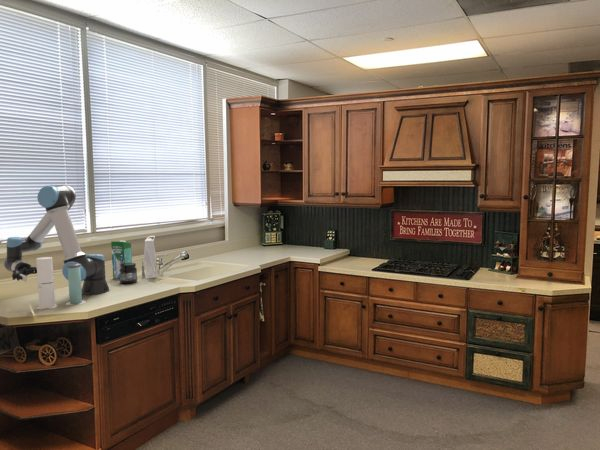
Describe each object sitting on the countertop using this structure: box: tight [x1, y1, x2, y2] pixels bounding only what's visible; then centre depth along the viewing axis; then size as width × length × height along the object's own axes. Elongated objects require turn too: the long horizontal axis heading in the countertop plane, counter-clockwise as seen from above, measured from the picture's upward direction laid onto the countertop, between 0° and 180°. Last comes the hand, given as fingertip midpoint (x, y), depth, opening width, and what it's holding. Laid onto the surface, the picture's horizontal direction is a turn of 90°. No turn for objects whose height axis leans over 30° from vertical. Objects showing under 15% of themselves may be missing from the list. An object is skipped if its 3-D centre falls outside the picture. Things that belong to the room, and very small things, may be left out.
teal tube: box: [67, 264, 83, 305], centre depth 257 cm, size 6×6×20 cm
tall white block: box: [35, 256, 56, 309], centre depth 249 cm, size 7×7×25 cm
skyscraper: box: [141, 235, 158, 280], centre depth 326 cm, size 8×8×28 cm
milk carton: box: [110, 240, 133, 280], centre depth 328 cm, size 9×9×25 cm
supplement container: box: [119, 262, 138, 285], centre depth 313 cm, size 10×10×12 cm
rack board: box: [36, 299, 87, 310], centre depth 254 cm, size 24×12×1 cm, turn 123°
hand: (39, 276), depth 256 cm, fingers open, 13 cm apart
